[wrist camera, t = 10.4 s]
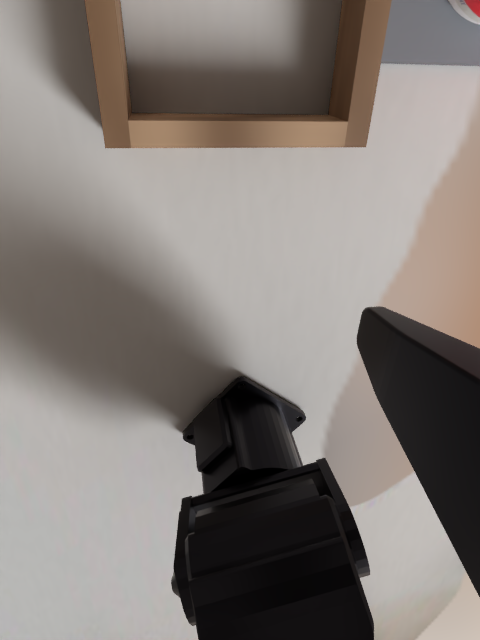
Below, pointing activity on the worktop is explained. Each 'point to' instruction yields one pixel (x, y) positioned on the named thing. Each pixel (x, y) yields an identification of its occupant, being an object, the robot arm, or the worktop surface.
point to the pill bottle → (467, 9)
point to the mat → (430, 35)
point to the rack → (244, 129)
